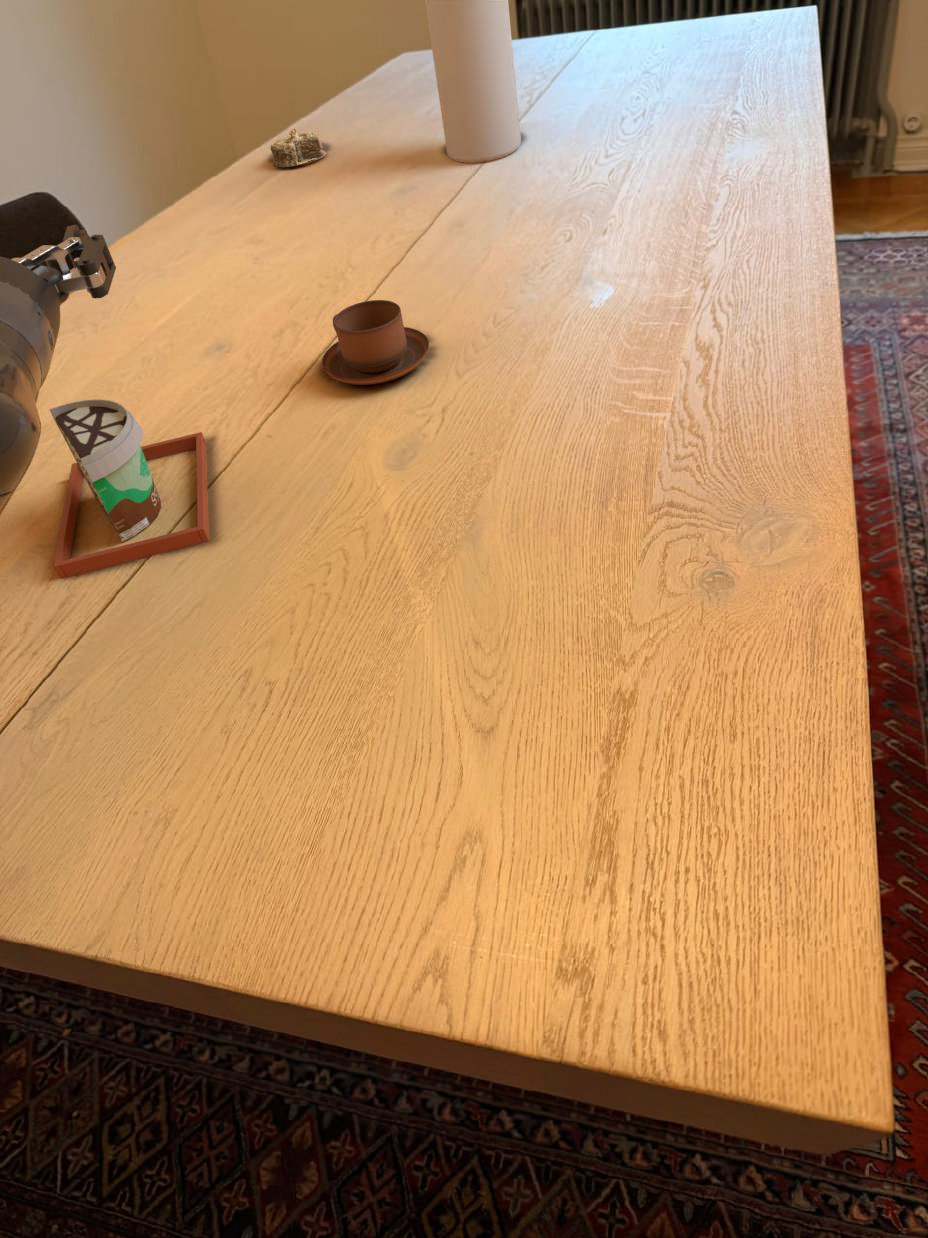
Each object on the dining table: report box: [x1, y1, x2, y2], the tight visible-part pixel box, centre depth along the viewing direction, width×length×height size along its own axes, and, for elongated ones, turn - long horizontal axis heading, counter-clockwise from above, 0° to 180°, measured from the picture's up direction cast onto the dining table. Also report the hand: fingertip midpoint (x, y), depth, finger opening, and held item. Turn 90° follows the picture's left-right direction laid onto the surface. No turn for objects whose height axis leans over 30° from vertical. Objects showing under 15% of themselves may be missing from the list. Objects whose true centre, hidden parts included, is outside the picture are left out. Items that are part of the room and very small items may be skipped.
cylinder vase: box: [424, 0, 522, 164], centre depth 144 cm, size 12×12×25 cm
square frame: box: [53, 431, 210, 580], centre depth 86 cm, size 13×17×2 cm
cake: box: [269, 128, 328, 168], centre depth 163 cm, size 10×10×5 cm
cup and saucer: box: [321, 299, 430, 386], centre depth 99 cm, size 12×12×6 cm
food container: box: [49, 398, 162, 544], centre depth 83 cm, size 12×6×10 cm, turn 33°
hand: (23, 250), depth 71 cm, fingers open, 8 cm apart
